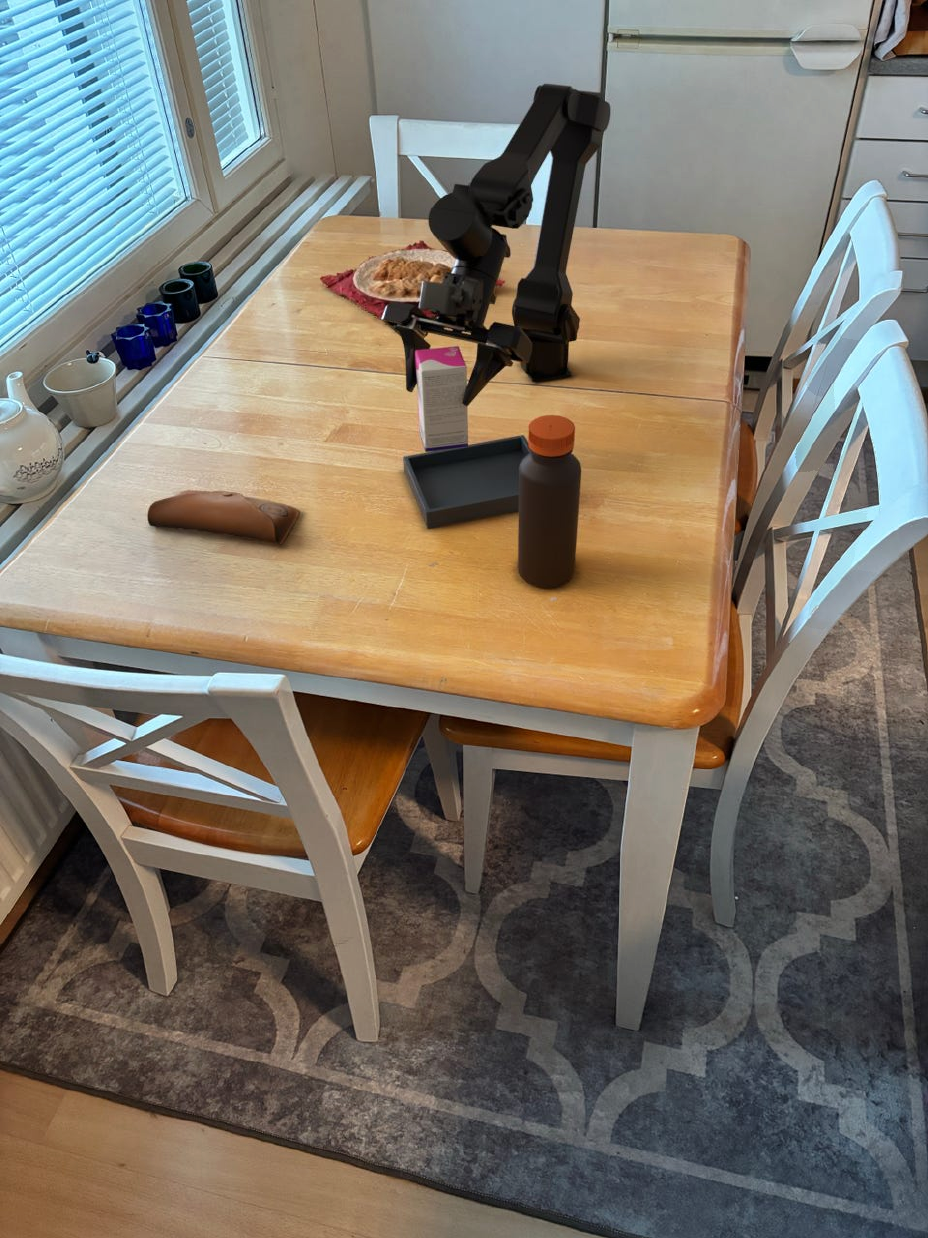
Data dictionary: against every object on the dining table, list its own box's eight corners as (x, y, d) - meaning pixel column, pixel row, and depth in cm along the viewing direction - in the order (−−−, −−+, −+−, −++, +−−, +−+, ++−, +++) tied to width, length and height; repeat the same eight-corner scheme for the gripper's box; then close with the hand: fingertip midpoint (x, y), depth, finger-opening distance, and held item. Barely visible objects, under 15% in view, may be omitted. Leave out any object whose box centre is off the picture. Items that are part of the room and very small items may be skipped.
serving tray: (523, 450, 132) (523, 434, 131) (555, 504, 123) (556, 487, 121) (404, 472, 129) (402, 456, 128) (427, 529, 120) (426, 512, 118)
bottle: (581, 584, 111) (592, 438, 98) (526, 594, 110) (529, 448, 97) (565, 549, 116) (573, 405, 102) (511, 558, 115) (512, 414, 102)
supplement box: (470, 447, 121) (467, 366, 113) (424, 453, 121) (418, 372, 113) (462, 423, 126) (459, 343, 118) (418, 428, 125) (411, 349, 117)
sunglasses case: (303, 506, 123) (286, 485, 117) (290, 556, 122) (273, 537, 115) (178, 490, 127) (155, 469, 121) (164, 539, 125) (140, 519, 119)
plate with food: (422, 249, 185) (421, 232, 183) (506, 288, 170) (505, 269, 167) (319, 286, 175) (316, 267, 173) (397, 330, 160) (395, 311, 157)
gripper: (381, 236, 113) (343, 362, 114) (523, 261, 106) (481, 395, 107) (418, 274, 123) (383, 389, 124) (550, 299, 117) (511, 421, 117)
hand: (436, 397), depth 118 cm, fingers closed on supplement box, 7 cm apart
